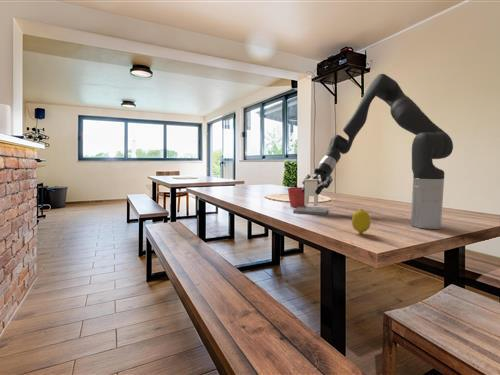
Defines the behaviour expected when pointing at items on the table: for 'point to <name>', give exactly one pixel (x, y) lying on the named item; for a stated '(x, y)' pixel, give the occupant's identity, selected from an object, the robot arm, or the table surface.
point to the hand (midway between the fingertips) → (309, 192)
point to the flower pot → (296, 196)
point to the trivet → (310, 210)
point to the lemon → (361, 221)
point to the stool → (311, 191)
